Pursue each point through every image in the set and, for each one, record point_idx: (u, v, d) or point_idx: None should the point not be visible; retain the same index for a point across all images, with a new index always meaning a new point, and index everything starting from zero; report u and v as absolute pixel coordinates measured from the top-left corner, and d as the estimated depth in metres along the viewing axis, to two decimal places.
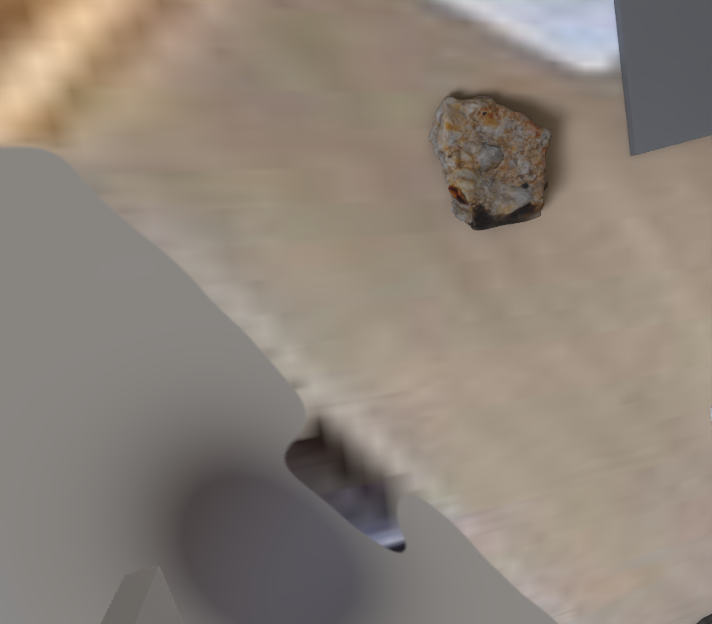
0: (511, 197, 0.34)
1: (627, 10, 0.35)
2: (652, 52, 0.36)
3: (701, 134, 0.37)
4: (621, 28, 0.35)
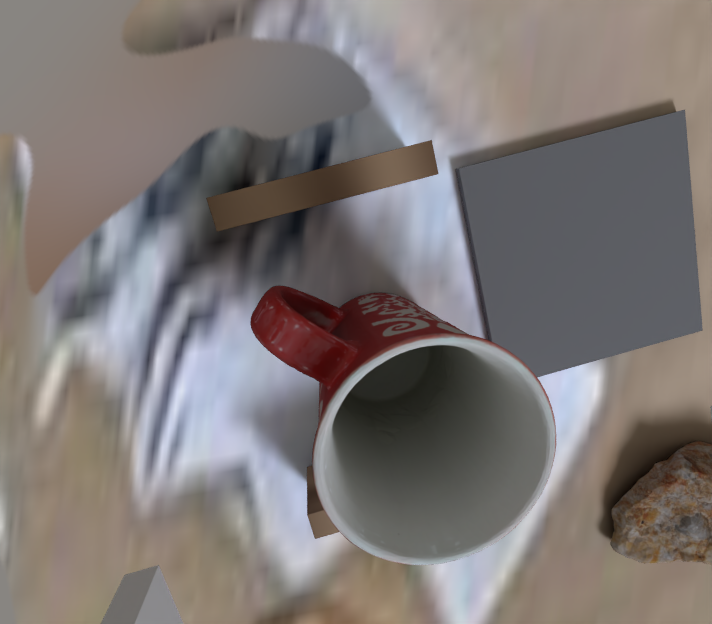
0: None
1: (554, 364, 0.31)
2: (598, 328, 0.31)
3: (692, 250, 0.30)
4: None
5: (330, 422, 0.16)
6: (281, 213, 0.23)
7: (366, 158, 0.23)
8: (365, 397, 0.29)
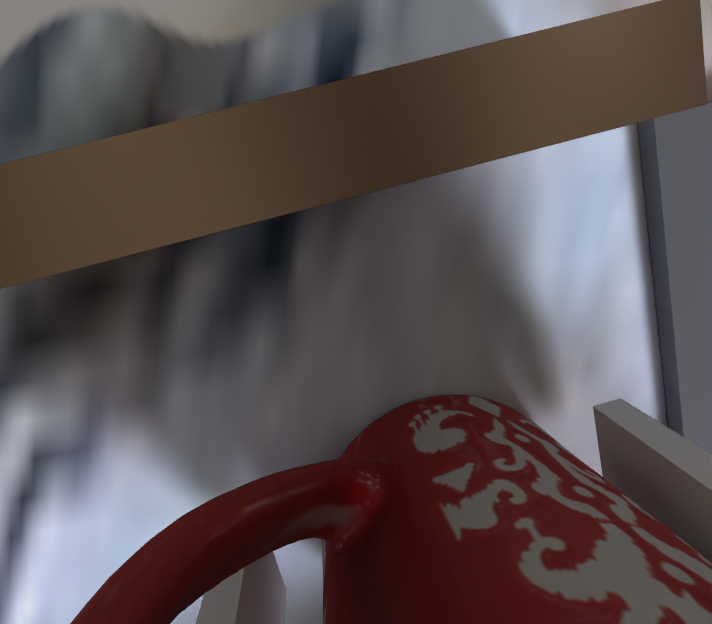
0: None
1: None
2: None
3: None
4: None
5: None
6: (211, 229, 0.07)
7: (490, 48, 0.07)
8: None
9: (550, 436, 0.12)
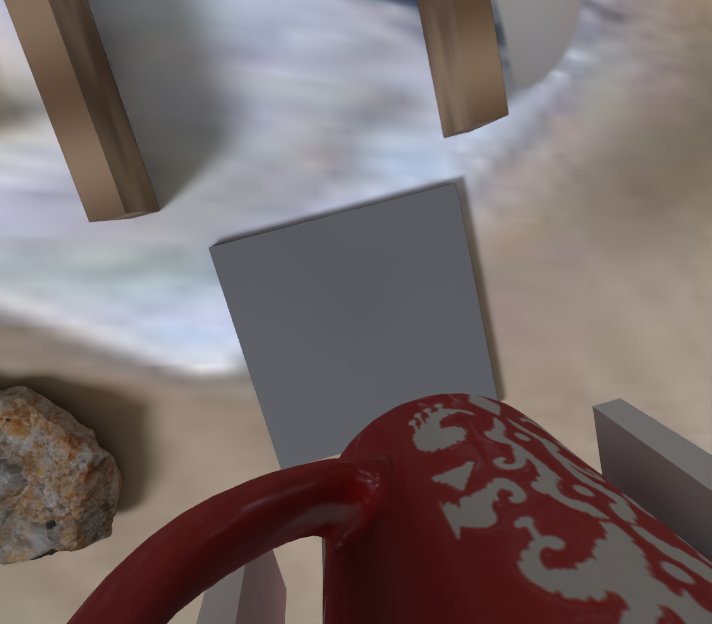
0: (28, 541, 0.25)
1: (238, 310, 0.27)
2: (282, 355, 0.27)
3: None
4: (235, 329, 0.27)
5: None
6: None
7: (494, 37, 0.21)
8: None
9: (550, 435, 0.12)
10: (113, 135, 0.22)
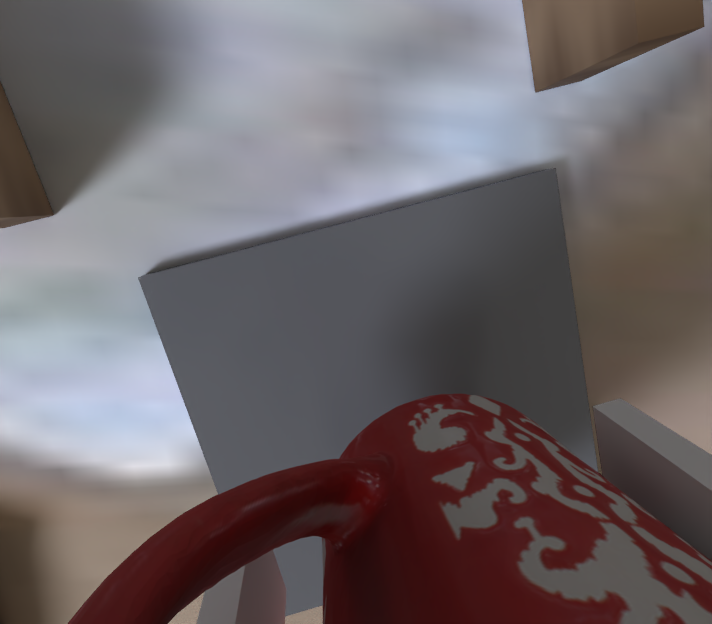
0: None
1: (192, 379, 0.16)
2: (266, 450, 0.17)
3: None
4: (188, 410, 0.16)
5: None
6: None
7: None
8: None
9: (550, 435, 0.12)
10: None
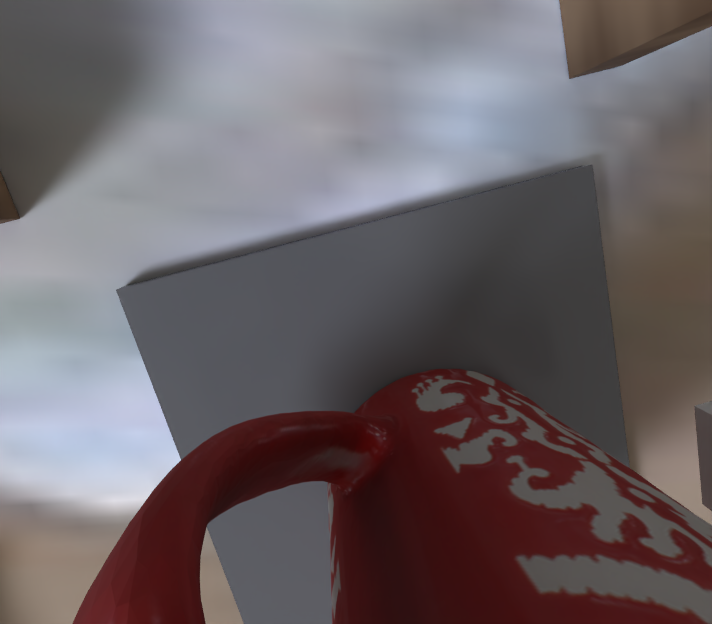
0: None
1: (179, 404, 0.14)
2: None
3: None
4: (174, 439, 0.14)
5: None
6: None
7: None
8: None
9: None
10: None
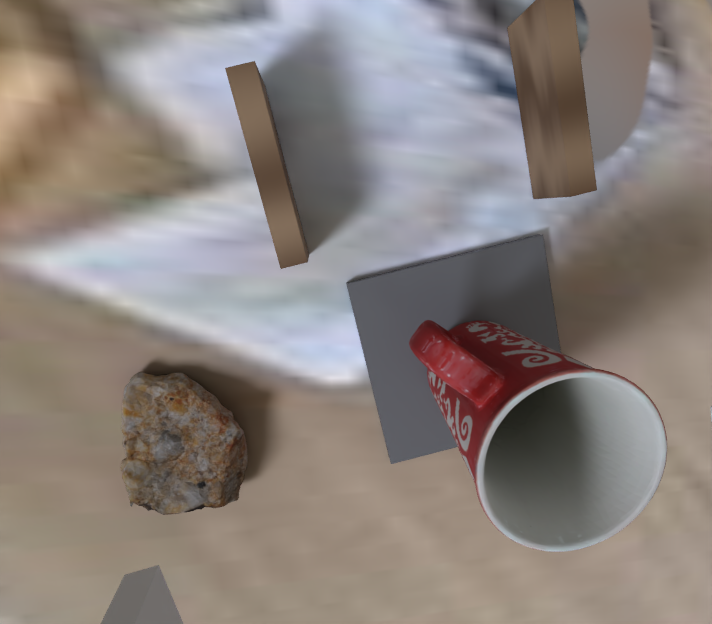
0: (183, 496, 0.31)
1: (366, 333, 0.33)
2: (398, 370, 0.34)
3: None
4: None
5: (492, 435, 0.21)
6: (552, 55, 0.26)
7: (588, 134, 0.27)
8: None
9: None
10: (293, 202, 0.29)
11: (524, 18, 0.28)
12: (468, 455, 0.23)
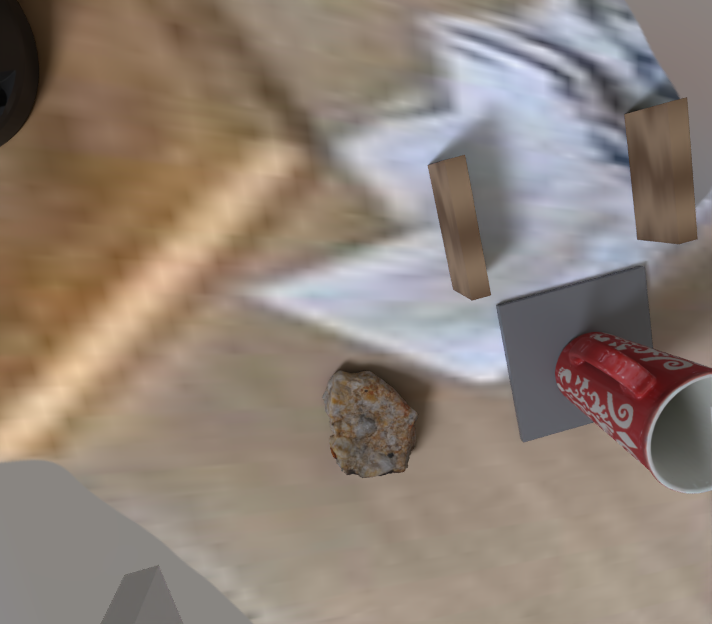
0: (378, 464, 0.42)
1: (511, 343, 0.44)
2: (532, 370, 0.45)
3: (576, 425, 0.46)
4: (507, 355, 0.44)
5: (658, 416, 0.32)
6: (671, 145, 0.37)
7: (693, 199, 0.38)
8: None
9: None
10: None
11: (644, 113, 0.39)
12: (630, 431, 0.34)
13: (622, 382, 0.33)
